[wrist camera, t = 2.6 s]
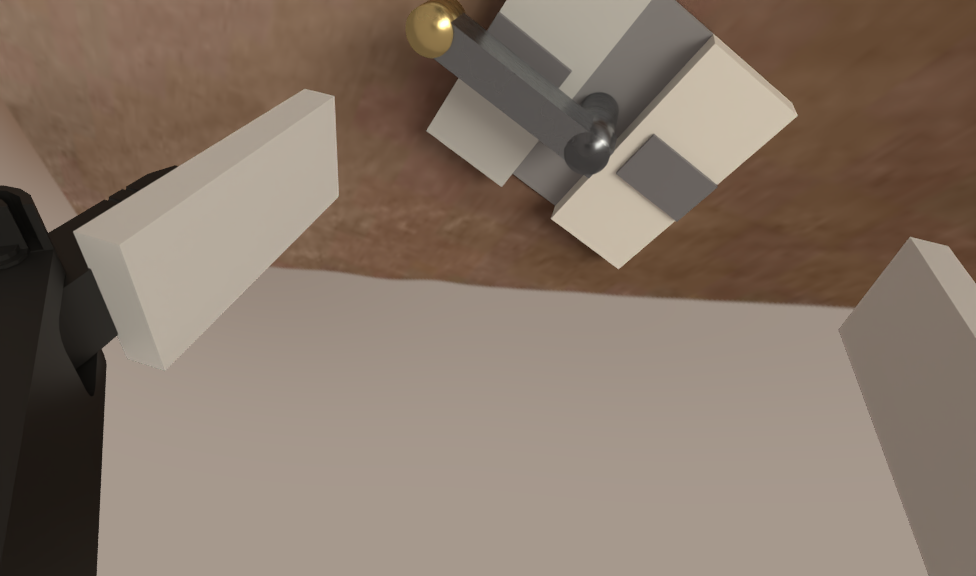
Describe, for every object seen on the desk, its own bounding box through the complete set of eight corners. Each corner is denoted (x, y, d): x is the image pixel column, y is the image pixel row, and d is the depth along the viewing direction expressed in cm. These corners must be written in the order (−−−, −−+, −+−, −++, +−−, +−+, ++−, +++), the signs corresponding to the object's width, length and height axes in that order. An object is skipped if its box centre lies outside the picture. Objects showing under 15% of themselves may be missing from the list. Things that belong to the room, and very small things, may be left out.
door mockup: (438, 116, 37) (424, 132, 34) (569, -94, 28) (560, -89, 26) (620, 253, 39) (617, 275, 37) (791, 102, 30) (800, 121, 28)
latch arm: (627, 109, 33) (619, 153, 28) (601, 138, 34) (589, 185, 29) (459, -28, 31) (419, -6, 26) (439, 9, 32) (397, 37, 27)
